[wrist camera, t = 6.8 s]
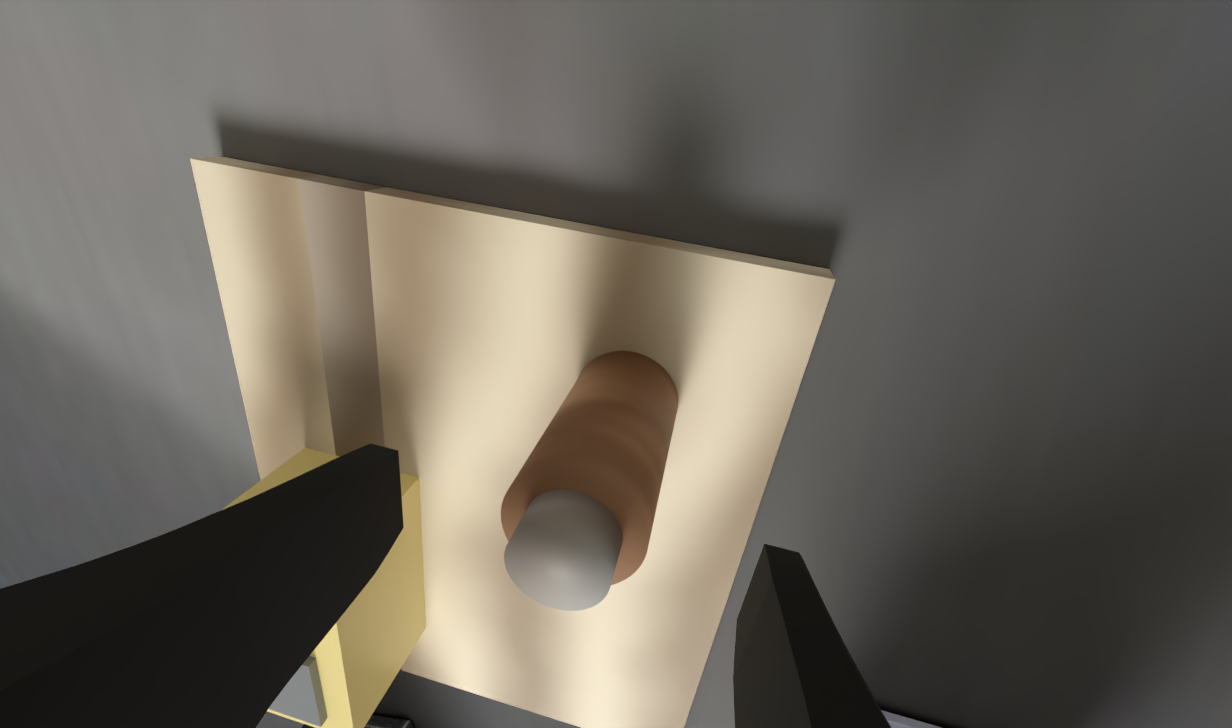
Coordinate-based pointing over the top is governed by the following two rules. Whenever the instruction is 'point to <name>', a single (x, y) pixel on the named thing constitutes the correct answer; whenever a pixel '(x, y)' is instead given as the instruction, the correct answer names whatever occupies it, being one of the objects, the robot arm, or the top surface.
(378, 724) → the small box
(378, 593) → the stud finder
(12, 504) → the top surface
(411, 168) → the top surface
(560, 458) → the brown jar
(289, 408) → the plywood panel
